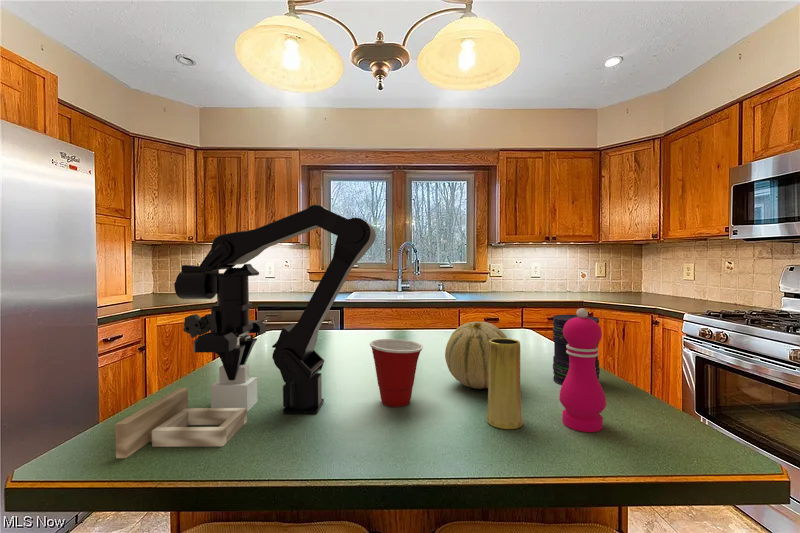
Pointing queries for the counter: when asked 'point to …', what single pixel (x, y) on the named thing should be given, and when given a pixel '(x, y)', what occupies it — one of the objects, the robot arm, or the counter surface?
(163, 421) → the stand
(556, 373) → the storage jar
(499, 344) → the vase
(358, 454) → the counter surface
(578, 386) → the pepper mill
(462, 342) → the cantaloupe
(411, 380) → the plastic cup
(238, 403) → the grey stepped block
